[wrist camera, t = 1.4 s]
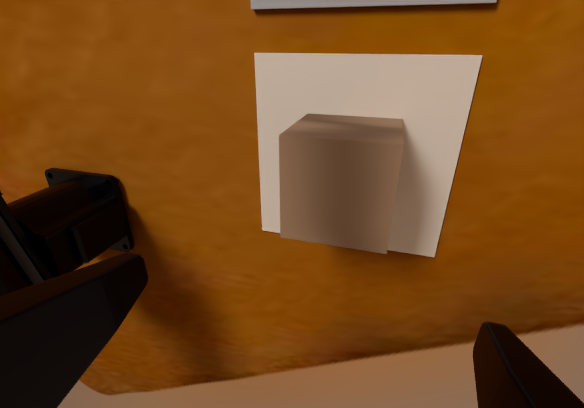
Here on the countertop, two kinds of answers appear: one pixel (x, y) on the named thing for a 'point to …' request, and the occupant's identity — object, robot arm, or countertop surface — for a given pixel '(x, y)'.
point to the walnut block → (340, 180)
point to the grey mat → (352, 3)
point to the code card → (382, 104)
